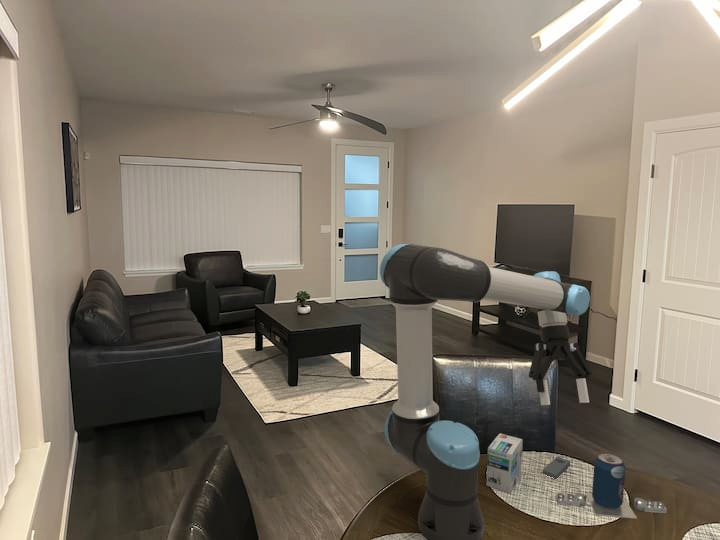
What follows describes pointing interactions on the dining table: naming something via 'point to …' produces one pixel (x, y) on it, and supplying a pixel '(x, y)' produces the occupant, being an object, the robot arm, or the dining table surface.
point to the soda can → (608, 481)
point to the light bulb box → (504, 462)
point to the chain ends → (622, 511)
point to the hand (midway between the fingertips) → (565, 403)
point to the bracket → (556, 467)
